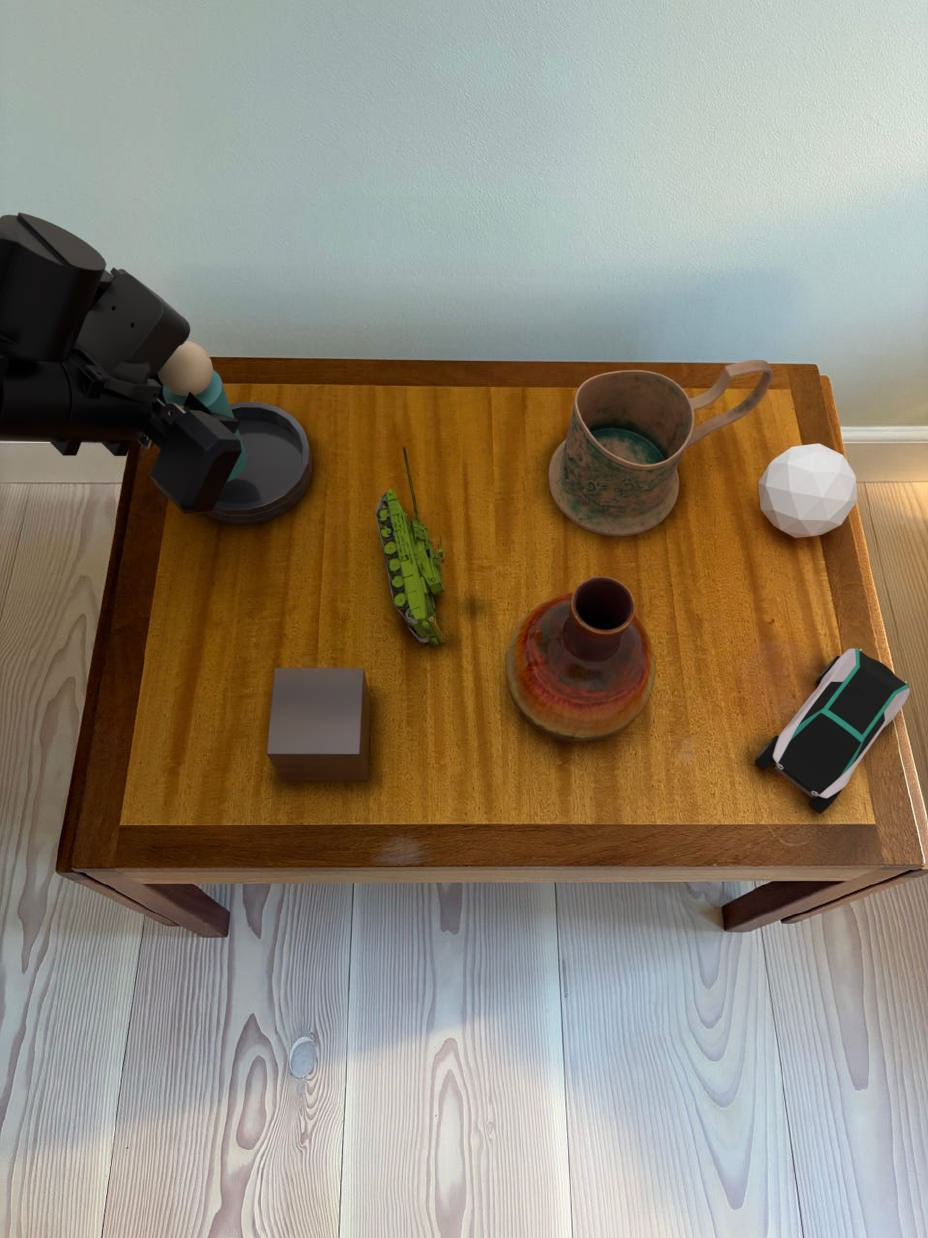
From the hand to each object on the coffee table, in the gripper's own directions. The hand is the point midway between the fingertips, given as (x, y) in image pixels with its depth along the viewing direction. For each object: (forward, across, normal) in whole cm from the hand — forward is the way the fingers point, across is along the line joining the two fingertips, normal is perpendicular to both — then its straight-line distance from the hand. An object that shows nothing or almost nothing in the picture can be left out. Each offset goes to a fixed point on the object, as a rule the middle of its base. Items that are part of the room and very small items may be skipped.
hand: (218, 409), depth 70 cm
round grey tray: (+7, 0, +6) cm, 9 cm away
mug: (+25, -25, -12) cm, 37 cm away
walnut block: (-1, -24, +14) cm, 27 cm away
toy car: (+19, -50, -5) cm, 54 cm away
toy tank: (+11, -16, +2) cm, 20 cm away
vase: (+11, -34, +3) cm, 36 cm away
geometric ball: (+24, -38, -16) cm, 48 cm away
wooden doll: (+3, 0, +5) cm, 6 cm away
